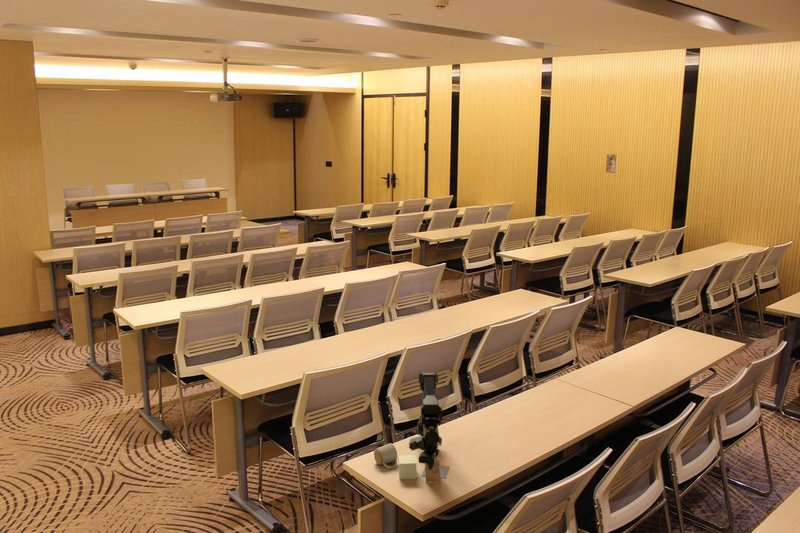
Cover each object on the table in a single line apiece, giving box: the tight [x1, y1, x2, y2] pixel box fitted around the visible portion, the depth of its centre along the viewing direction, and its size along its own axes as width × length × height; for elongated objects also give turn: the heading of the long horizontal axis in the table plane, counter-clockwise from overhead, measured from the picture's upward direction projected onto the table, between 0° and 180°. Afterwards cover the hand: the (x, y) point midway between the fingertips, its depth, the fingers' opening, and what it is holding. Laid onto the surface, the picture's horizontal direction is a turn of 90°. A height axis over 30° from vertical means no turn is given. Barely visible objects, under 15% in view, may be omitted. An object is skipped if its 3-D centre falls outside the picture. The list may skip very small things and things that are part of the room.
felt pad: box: [421, 465, 450, 480], centre depth 286 cm, size 10×10×1 cm
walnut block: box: [424, 456, 441, 484], centre depth 279 cm, size 5×5×9 cm
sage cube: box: [398, 454, 417, 480], centre depth 283 cm, size 7×7×7 cm
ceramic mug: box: [373, 442, 398, 470], centre depth 292 cm, size 11×8×8 cm
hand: (430, 469), depth 274 cm, fingers closed
